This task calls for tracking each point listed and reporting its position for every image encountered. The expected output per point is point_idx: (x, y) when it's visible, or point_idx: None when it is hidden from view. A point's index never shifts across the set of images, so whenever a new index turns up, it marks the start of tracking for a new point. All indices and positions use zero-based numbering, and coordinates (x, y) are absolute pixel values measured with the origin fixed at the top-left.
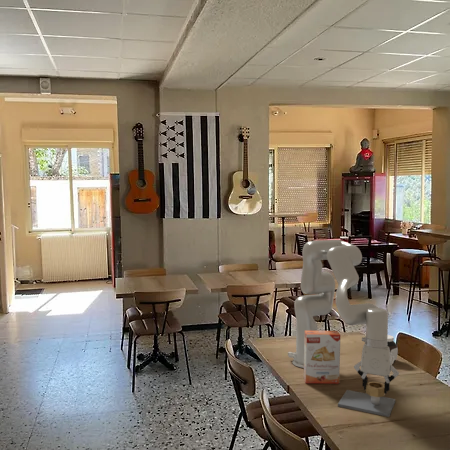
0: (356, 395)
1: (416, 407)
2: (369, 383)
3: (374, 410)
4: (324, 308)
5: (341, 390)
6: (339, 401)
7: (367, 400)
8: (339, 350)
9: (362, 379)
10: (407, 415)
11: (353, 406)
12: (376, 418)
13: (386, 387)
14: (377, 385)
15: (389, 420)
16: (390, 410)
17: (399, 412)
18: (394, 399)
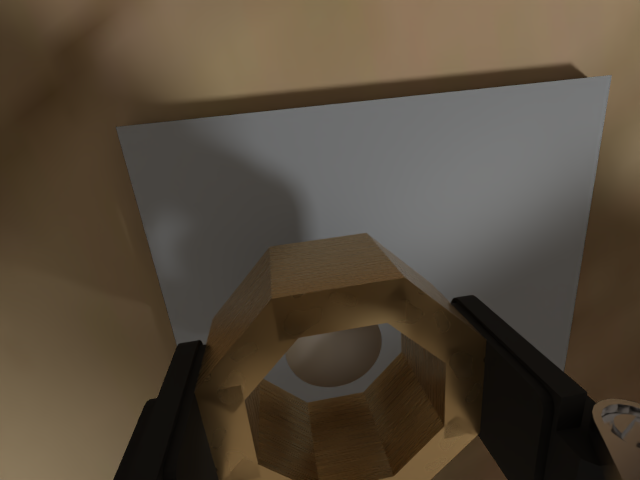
0: None
1: (32, 433)
2: (446, 412)
3: (273, 129)
4: None
5: (586, 367)
6: (600, 133)
7: None
8: None
9: (594, 402)
10: (11, 260)
11: (471, 98)
12: (216, 19)
13: (156, 414)
14: (342, 453)
15: (91, 49)
16: (145, 221)
17: (97, 275)
18: None
